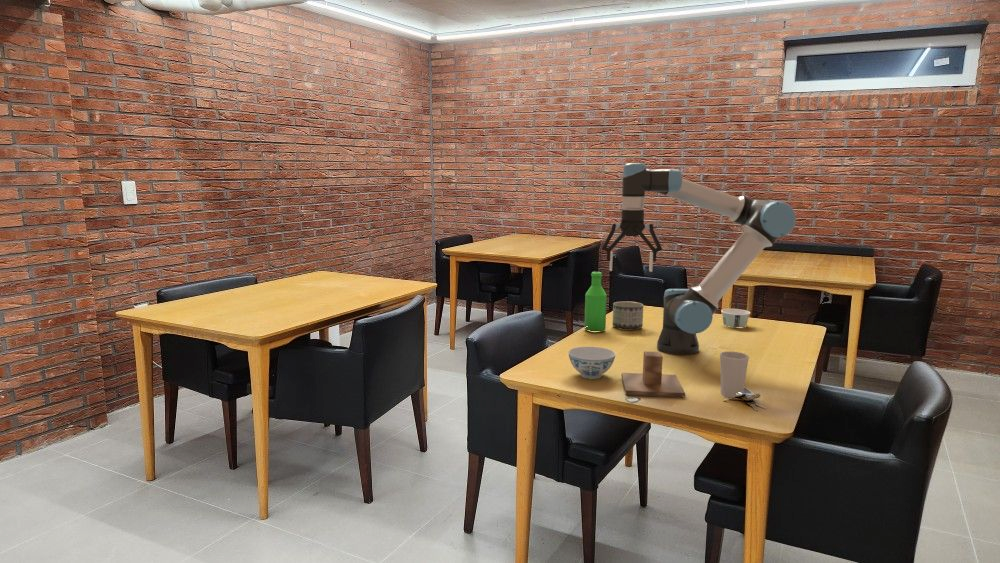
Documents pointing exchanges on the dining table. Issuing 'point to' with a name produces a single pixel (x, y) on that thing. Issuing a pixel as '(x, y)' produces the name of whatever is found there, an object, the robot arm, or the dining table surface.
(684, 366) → the dining table surface
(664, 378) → the lid
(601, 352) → the chinaware
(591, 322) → the bottle
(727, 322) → the food container
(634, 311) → the planter
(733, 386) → the cup
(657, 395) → the mat
